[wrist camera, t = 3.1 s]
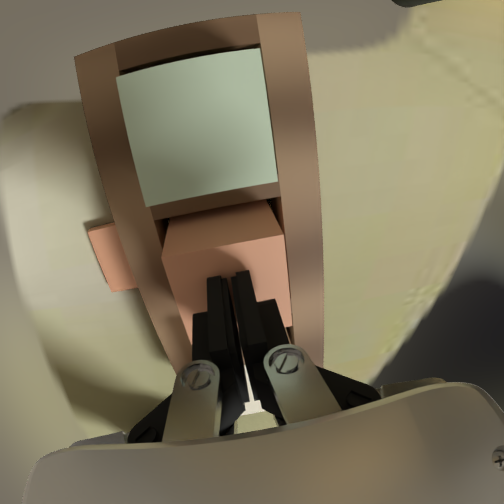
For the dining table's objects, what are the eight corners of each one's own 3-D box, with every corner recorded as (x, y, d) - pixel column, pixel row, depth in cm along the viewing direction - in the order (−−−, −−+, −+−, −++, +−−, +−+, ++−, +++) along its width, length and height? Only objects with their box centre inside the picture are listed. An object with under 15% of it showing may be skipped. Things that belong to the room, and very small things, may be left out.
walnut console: (97, 60, 12) (74, 56, 9) (282, 24, 12) (300, 11, 10) (191, 372, 22) (191, 405, 20) (311, 350, 23) (322, 380, 20)
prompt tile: (90, 228, 16) (87, 232, 16) (129, 218, 16) (127, 222, 16) (113, 287, 18) (111, 292, 18) (149, 280, 18) (148, 285, 18)
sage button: (140, 79, 12) (116, 77, 8) (244, 59, 12) (259, 48, 8) (160, 175, 14) (145, 207, 10) (259, 156, 14) (277, 181, 11)
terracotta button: (170, 215, 15) (161, 257, 11) (264, 197, 15) (283, 234, 12) (192, 291, 17) (191, 344, 14) (275, 276, 17) (292, 325, 14)
